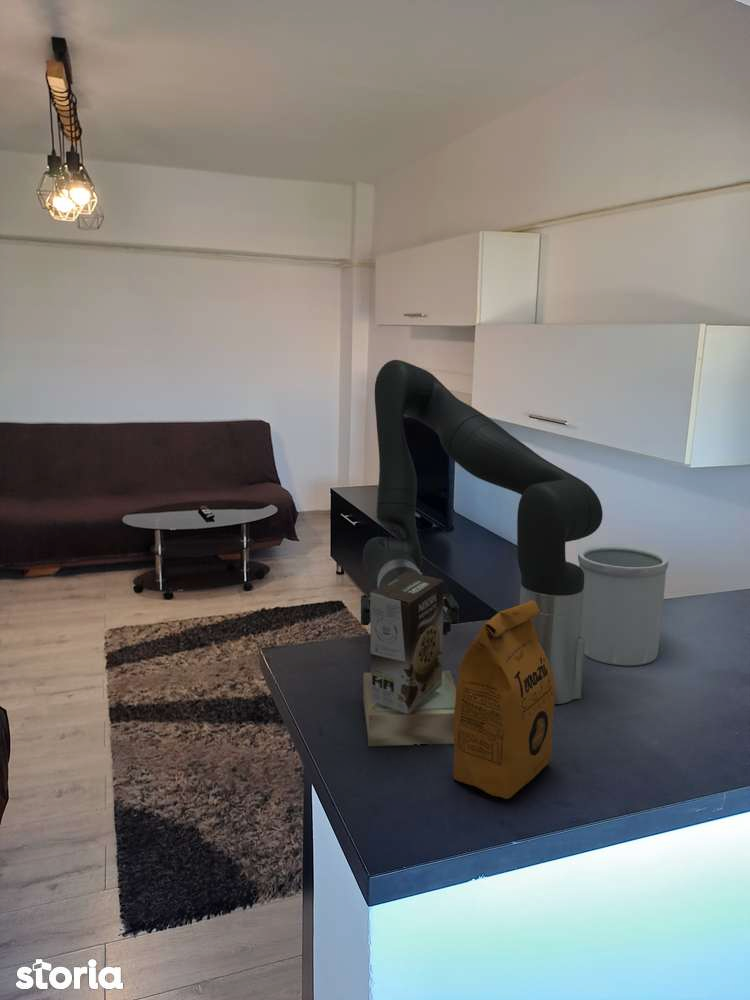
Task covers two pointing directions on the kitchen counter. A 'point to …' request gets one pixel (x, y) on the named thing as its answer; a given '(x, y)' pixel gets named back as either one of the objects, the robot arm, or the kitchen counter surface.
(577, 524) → the robot arm
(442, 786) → the kitchen counter surface
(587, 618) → the utensil holder
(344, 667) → the kitchen counter surface
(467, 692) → the coffee package
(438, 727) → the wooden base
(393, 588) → the coffee box
